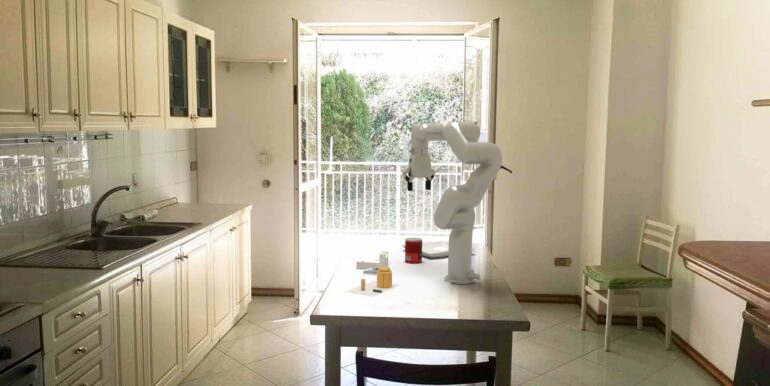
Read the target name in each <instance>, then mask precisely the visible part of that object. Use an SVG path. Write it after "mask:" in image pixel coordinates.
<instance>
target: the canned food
mask: <svg viewBox="0 0 770 386" xmlns="http://www.w3.org/2000/svg"><path fill="white" fill-rule="evenodd" d="M422 242H423V239H422V238H421V237H420V238H419V237H407V238H405V241H404V245H405V248H404V261H405V263H407V264H413V265H417V264H421V263H422V261H423V255H422Z"/></svg>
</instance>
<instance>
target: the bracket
mask: <svg viewBox="0 0 770 386" xmlns="http://www.w3.org/2000/svg"><path fill="white" fill-rule="evenodd" d="M355 264H356V270H366V269H369V268H380V267H388V266H389V251H388V250H382V251H381V253H379V259H377V258H376V259H375V258H374V259H373V258H359V259H358V260H357V261H356V263H355Z"/></svg>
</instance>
